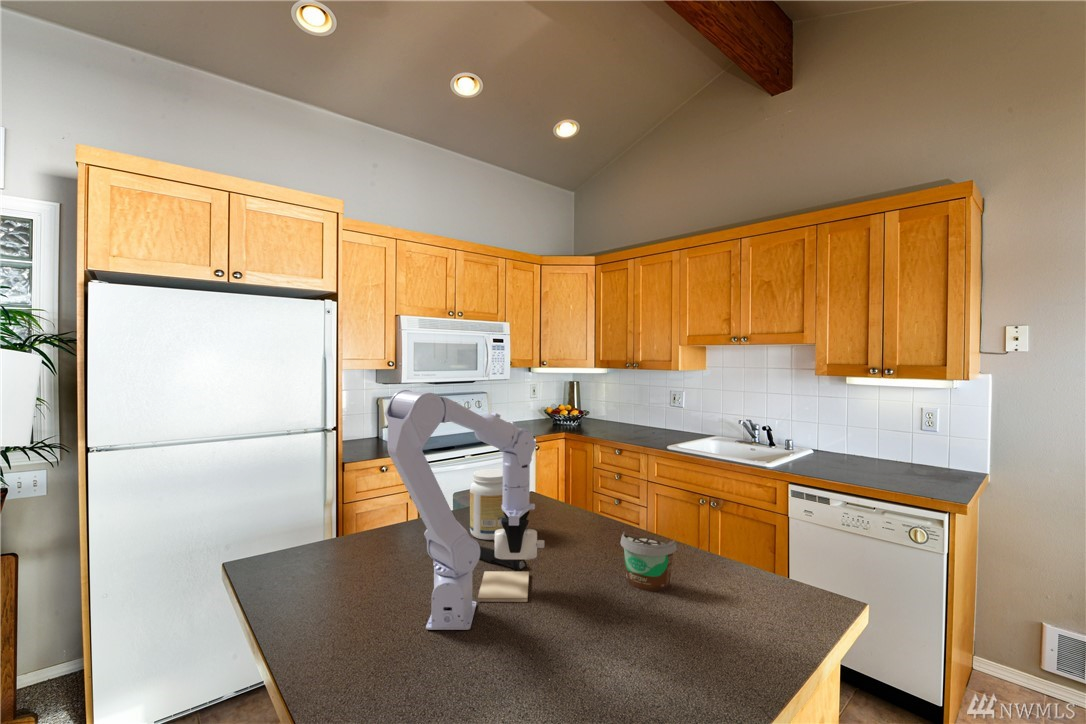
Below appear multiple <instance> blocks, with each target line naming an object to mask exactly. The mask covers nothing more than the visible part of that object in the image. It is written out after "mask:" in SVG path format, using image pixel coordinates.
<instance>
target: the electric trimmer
mask: <svg viewBox="0 0 1086 724" xmlns="http://www.w3.org/2000/svg"><path fill="white" fill-rule="evenodd" d="M479 546H480V558H479V560H483V561H485V562H487V563H490V564H493V563H496V564H499V565H501V566H502V565H503V566H505V567H508V568H511V569H514V571H525V570H526V569H528V564H527V562H526V559H498V558H496V557H495V549H492V548H489V547H485V546H481V545H479Z"/></svg>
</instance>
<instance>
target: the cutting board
mask: <svg viewBox="0 0 1086 724" xmlns="http://www.w3.org/2000/svg"><path fill="white" fill-rule="evenodd" d="M529 577H530V571H525V570H523V571H515V570H514V571H512V570H511V571H509V570H508V571H504V570H503V571H499V570H498V571H493V570H491V571H487V570H485V571H484V572H483V576H482V580H481V584H480V587H479V590H478V595H477V603H481V602H483V603H486V602H488V603H489V602H490V603H491V602H492V603H497V602H498V603H499V602H502V603H505V602H506V603H515V602H516V603H527V602H528V597H529V583H530V578H529Z"/></svg>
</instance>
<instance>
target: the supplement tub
mask: <svg viewBox="0 0 1086 724" xmlns="http://www.w3.org/2000/svg"><path fill="white" fill-rule="evenodd" d="M472 480H473V482H472V483H471V484H470V488H469V530H470V534H471V535H472V536H473V537H475V538H477V539H480V540H483V541H484V540H485V541H486V540H488V541H492V540H493V541H495V531H496V530H498V529H504V528H503V526H502V524H501V520H502V518H506V517H505V515H504V511H503V510H502V504H503V468H484V469H478V470H476V471H474V472H473V476H472Z"/></svg>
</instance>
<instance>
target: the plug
mask: <svg viewBox="0 0 1086 724" xmlns="http://www.w3.org/2000/svg"><path fill="white" fill-rule="evenodd" d="M538 549H545V540H543V539H538V531H537V530H535V529H532V528H526V529H525V532H524V535H523V540H522V546H521V551H520V553H510V551H509V546H508V540H507V536H506V532H505V530H504V529H498V530H496V531H495V540H494V550H495V557H496V558H498V559H524V560H533V559H535V558H536V557H537V556H538Z"/></svg>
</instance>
